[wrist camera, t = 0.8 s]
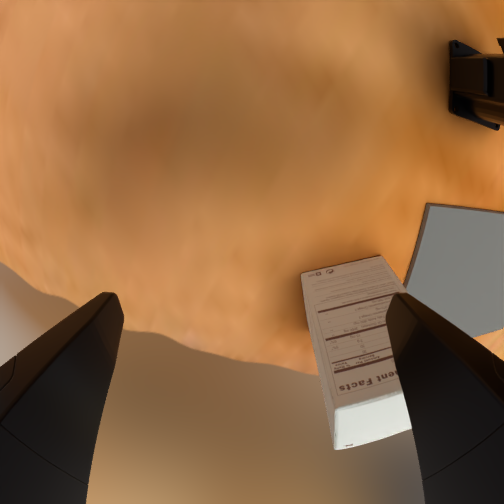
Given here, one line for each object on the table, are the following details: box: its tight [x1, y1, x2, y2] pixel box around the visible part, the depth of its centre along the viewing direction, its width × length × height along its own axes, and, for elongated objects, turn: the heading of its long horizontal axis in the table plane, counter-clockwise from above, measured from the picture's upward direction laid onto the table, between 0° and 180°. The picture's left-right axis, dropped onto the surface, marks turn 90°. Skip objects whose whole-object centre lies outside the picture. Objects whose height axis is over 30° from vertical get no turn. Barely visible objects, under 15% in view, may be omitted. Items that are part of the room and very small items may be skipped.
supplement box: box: [301, 256, 412, 450], centre depth 19 cm, size 7×7×13 cm
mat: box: [403, 203, 504, 338], centre depth 24 cm, size 24×18×1 cm
